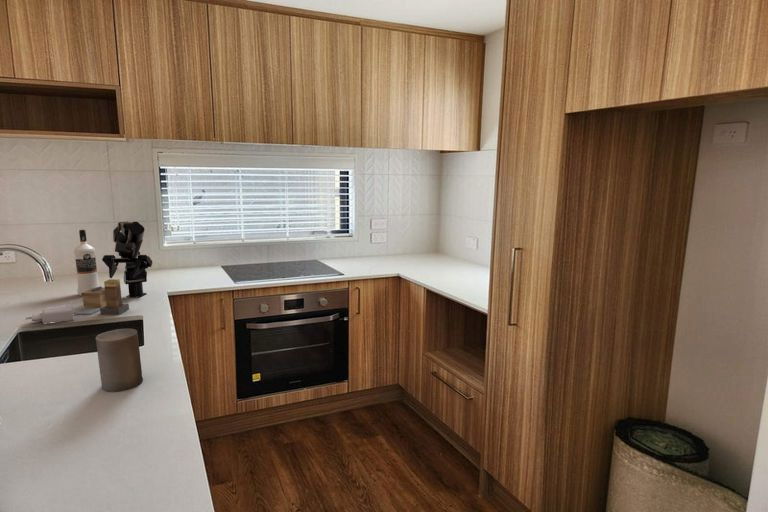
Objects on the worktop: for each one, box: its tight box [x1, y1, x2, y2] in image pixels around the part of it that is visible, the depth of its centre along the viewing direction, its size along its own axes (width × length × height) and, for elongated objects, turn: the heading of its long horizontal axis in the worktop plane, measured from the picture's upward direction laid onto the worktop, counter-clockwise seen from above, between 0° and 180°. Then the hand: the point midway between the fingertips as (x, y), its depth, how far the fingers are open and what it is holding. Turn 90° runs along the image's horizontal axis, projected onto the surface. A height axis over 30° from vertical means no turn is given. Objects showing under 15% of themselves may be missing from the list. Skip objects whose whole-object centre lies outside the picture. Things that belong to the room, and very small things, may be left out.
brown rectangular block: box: [103, 278, 123, 308], centre depth 196 cm, size 4×4×13 cm
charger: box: [25, 304, 75, 324], centre depth 186 cm, size 5×9×15 cm
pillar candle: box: [95, 328, 144, 393], centre depth 128 cm, size 10×10×15 cm
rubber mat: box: [73, 307, 100, 315], centre depth 198 cm, size 8×8×1 cm
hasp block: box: [99, 303, 130, 316], centre depth 197 cm, size 7×7×2 cm
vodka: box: [73, 229, 100, 297], centre depth 225 cm, size 9×9×30 cm
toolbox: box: [80, 285, 107, 308], centre depth 207 cm, size 10×8×8 cm
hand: (121, 277), depth 202 cm, fingers open, 9 cm apart
